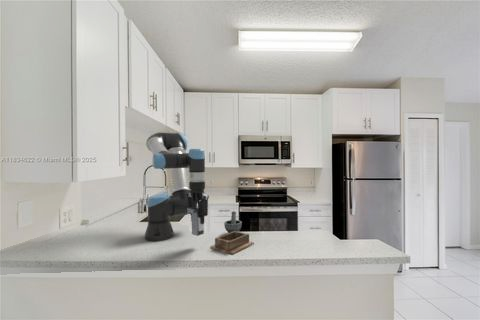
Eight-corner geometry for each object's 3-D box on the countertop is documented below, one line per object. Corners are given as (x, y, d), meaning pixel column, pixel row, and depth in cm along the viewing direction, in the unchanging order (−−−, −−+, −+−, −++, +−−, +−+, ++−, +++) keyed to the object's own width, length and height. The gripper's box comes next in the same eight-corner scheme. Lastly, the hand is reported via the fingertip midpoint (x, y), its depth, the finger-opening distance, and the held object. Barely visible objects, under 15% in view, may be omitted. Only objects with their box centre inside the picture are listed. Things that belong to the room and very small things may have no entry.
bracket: (187, 235, 114) (187, 208, 113) (201, 230, 121) (201, 204, 120) (193, 237, 111) (192, 209, 111) (207, 232, 118) (207, 205, 118)
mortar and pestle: (241, 237, 130) (240, 215, 130) (223, 237, 130) (223, 215, 130) (242, 231, 141) (241, 210, 141) (226, 231, 142) (226, 210, 142)
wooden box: (210, 248, 114) (210, 237, 114) (232, 239, 127) (232, 229, 127) (233, 254, 106) (232, 243, 106) (253, 244, 118) (253, 234, 118)
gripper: (179, 180, 118) (180, 228, 118) (203, 182, 107) (204, 235, 108) (191, 179, 123) (192, 224, 124) (215, 181, 113) (216, 230, 113)
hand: (197, 229), depth 116 cm, fingers closed on bracket, 4 cm apart
